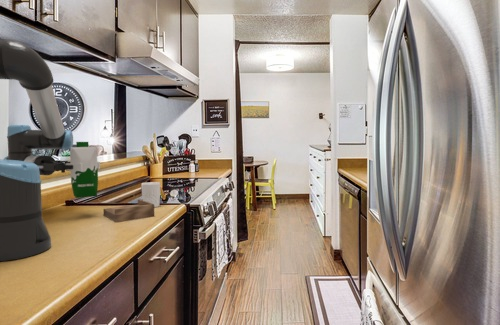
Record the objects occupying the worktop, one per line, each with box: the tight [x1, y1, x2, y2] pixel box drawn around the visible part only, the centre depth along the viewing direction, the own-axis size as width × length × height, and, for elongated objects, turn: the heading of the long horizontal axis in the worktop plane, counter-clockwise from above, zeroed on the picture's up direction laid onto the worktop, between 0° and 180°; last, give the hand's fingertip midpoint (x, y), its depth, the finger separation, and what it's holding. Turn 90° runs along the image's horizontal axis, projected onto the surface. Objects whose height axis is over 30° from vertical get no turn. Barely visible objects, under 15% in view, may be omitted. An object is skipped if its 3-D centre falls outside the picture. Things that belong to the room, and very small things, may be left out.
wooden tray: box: [102, 198, 155, 223], centre depth 121 cm, size 14×14×4 cm
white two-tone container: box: [69, 141, 99, 199], centre depth 120 cm, size 9×9×20 cm
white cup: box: [140, 181, 161, 208], centre depth 139 cm, size 8×8×10 cm
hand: (90, 166), depth 119 cm, fingers closed on white two-tone container, 8 cm apart
